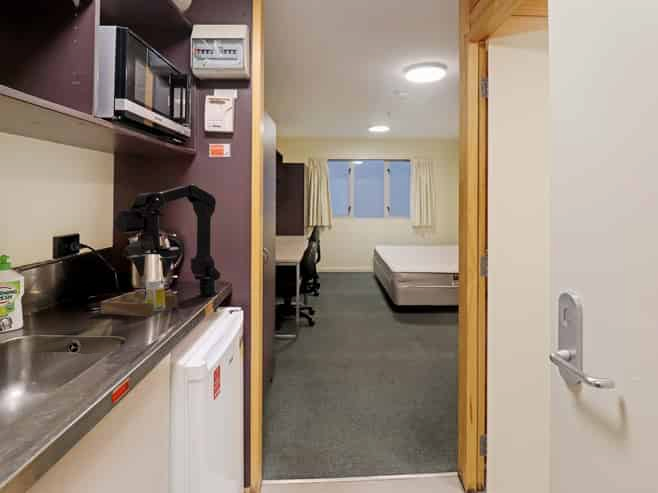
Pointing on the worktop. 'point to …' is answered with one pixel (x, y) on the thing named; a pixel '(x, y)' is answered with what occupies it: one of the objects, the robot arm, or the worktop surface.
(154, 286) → the supplement bottle
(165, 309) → the end tile
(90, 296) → the worktop surface
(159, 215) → the robot arm
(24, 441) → the worktop surface
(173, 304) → the channel
